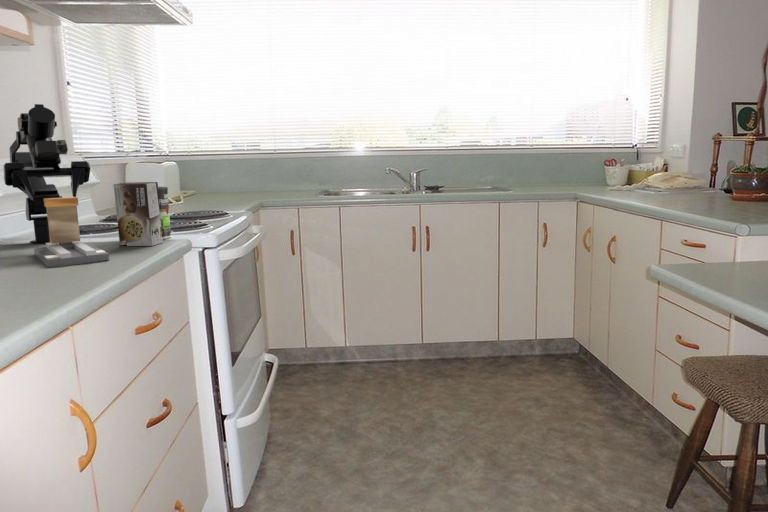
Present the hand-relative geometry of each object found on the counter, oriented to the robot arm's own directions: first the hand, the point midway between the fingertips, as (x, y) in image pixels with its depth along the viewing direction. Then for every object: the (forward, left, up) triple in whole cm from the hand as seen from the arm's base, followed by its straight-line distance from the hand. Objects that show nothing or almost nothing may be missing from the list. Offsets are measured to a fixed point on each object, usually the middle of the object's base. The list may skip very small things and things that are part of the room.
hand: (54, 198), depth 146 cm
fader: (+7, +5, -11) cm, 14 cm away
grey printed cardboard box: (-7, +17, -13) cm, 23 cm away
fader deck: (+11, +8, -13) cm, 19 cm away
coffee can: (-18, +16, -13) cm, 28 cm away
